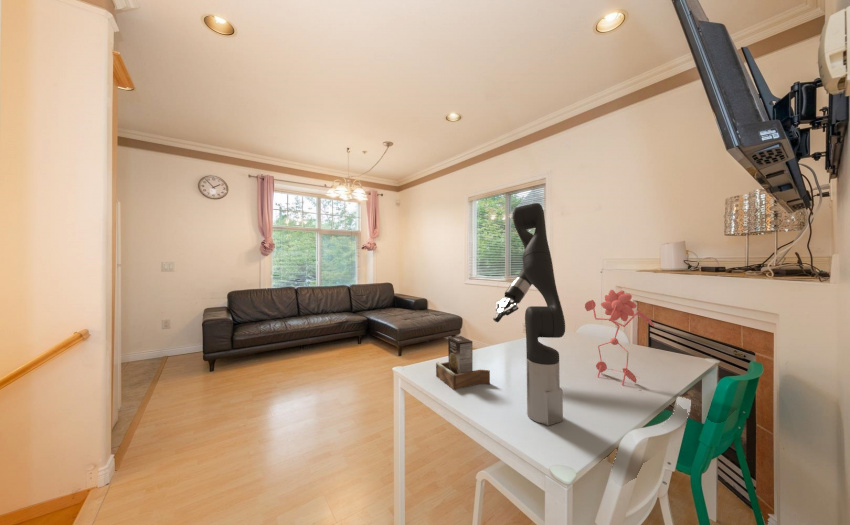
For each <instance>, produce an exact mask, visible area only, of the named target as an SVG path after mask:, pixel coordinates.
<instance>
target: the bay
mask: <svg viewBox="0 0 850 525" xmlns="http://www.w3.org/2000/svg"><path fill="white" fill-rule="evenodd" d="M435 373H436V374H435V376H436V378H438V379H439V380H440V381H442V382H443V383H445V385H446V386H448V387H449V388H450V389H452V390H458V389H462V388H467V387H472V386H476V385H480V384H482V385H490V384H491V380H490V379H491V377H490V376H491V374H490V373H491V370H489V369H476V370H473V371H470V372H465V373H460V374H455V373H453V372H452V371H450V370H449V361H446V362H441V363H440V362H439V361H438V362H436V363H435Z"/></svg>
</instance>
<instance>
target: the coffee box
mask: <svg viewBox="0 0 850 525" xmlns="http://www.w3.org/2000/svg"><path fill="white" fill-rule="evenodd" d="M447 338H448V339H447V341H448V342H447V343H448V344H447V345H448V347H447V349H448V354H447V356H448V362H449V370H450V371H452V372H453V373H455V374H460V373H465V372H470V371H474V369H473V363H474V362H473V358H474V357H473V354H474V352H473V350H474V349H473V348H474V347H473V346H474V344H473V340H471V339H468V338H466V337H464V336H462V335H457V336H449V337H447Z"/></svg>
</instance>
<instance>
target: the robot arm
mask: <svg viewBox="0 0 850 525" xmlns="http://www.w3.org/2000/svg"><path fill="white" fill-rule="evenodd" d="M544 211H545V210H544V209H543V206H542V205H541V203H539V202H536V203H535V202H534V203H527V204H524V205H520V206H517V207H514V208H513V210H512V221H513V225H514V227H515V228H514V229H515V230H516V233H517V234H518V237H519V238H520V240H521V242H522V244H523V248H524V250H523V253H522V256H521V258H522V268H521V270H520V272H519V274H518V275H517V276H516V277H515V279H513V281H512V282H511V283H510V285H509V286H508V288H507V289H506V291H505V292H504V297H503V298H501V300H500V301H499V300H496V301H495V311H496V313H495V315H494V316H493V318H492V319H493V321H494V322H496V323H499V322H500V321H501V320H502V318H503V317H505V316H510V315H511V314H513V313H515V311H518V310H519V307H518V305H517V304H520V303H521V302H522V300H523V299H524V297H525V296H526V295H527V293H528V291H529V289H530V288H531V286H532V285H533V286H534V287H535V289H536V290H538V292H539V293H540V294H541V296H542V298H543V299H544V301H545V304H546V306H540V305H539V306H533V305H532V306H528V307H527V308H526V309H525V313H524V324H525V325H524V326H525V338H526V339H525V342H526V346H525V347H526V348H525V350H526V414H527V417H528V418H529V419H531V420H532V421H535V422H537V423H539V424H543V425H545V426H552V425H555V424H557V423H560V422H563V421H564V409H563V408H564V405H563V403H564V400H563V398H564V397H563V393H564V392H563V391H564V390H563V388H561V387H560V353H559V351H558V350H557V349H555V348H554V347H551V346H548V345H545V344H543V343H541V342H540V341H539V338H551V339H555V338H557V339H559V338H562V337H564V335H565V332H566V321H565V315H564V312H563V307H562V304H561V300H560V297H559V293H558V290H557V284H556V279H555V272H554V266H553V260H552V255H551V251H550V246H549V241H548V237H547V228H546V221H545V220H546V219H545V212H544ZM531 229H534V234H533V233H531V232H530V231H529V230H531Z"/></svg>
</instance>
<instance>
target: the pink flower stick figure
mask: <svg viewBox="0 0 850 525" xmlns="http://www.w3.org/2000/svg"><path fill="white" fill-rule="evenodd" d="M608 291H609V292H608V294H605V295H604V301H602V302H601V303H600V305H601V307H602V308H603V309H605V310H604V315H606V316H610V317H609V318H603V317H602V318H601V317H600V318H599V317H597V314H596V310H595V308H596V302H595V301H594V300H593V299H591V300H588V301H586V302H585V304H584V309H585V310H586V312H589V311H593V315H594V316H593V317H594V319H595V320H597V321H599V320H603V321H609V322H611V323H613V324H614V325H616V326H617V329H616V331H615V334H614V337H613V338H611V339H610V341H608V342H605V343H601V344H599V345H597V348H598V353H599V359H600V361H598V362H596V364H595V368H596V369H597V370H598V372H597V378H599V377H600V373H601V374H602V373H603V372H605V371H606V370H611V371H616V372H618V370H616V369H612V368H608V366H607V363H606V361H604V360H602V355H601V349H600V346H604V345H608V344H612V345H613V346H617V345H619V346H620V347H621V348H622V349H623V350H624V351H625V352H626V365H625V367H623V368H622V371H620V370H619V372H621V373H623V378H622V383H621V385H622V386H624V385H625V381H626V378H628V379H629V380H631V381H632V382H633V383H635V384H636V383H637V378H638V379H640V377H639V376H636V375H635V374H634V373H633V372H632V371H631V370H629V369H628V367H629V366H628V364H629V363H628V362H629V351H628V350H627V349H626V348H625V347H624V346H623V345H622V344H621V343H619V340H618V339H617V338H616V337H617V336H618V335H617V334H618V333H619V329H620V328H621V327H623V328H625V327H626V326H627V325H628V324H629V323H630V322H631V321H632V320H633V319H634V318H635V317H636V316H637V315H638V316H640V318H641V319H642V320H644V321H645V322H646V323H647V324H649V325H651V326H652V327H654V326H655V324H654V323H653V321H652V319H650V318H649V317H648V316H647V315H646V314H644V313H643V312H641V311H639V310H636V312H635V311H634V309H635V308H637V304H636V303H635V302H634V301H632V298H633V296H632V294H630V293H626V292H625V291H624V290H619V291H617V292H616V291H615V290H614V289H610V290H608ZM629 317H630V318H629ZM619 319H621V321H622V322H625V324H622V323H620V322H617V321H618V320H619ZM620 326H621V327H620ZM639 391H640V392H641V389H639V390H638V392H639Z"/></svg>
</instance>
